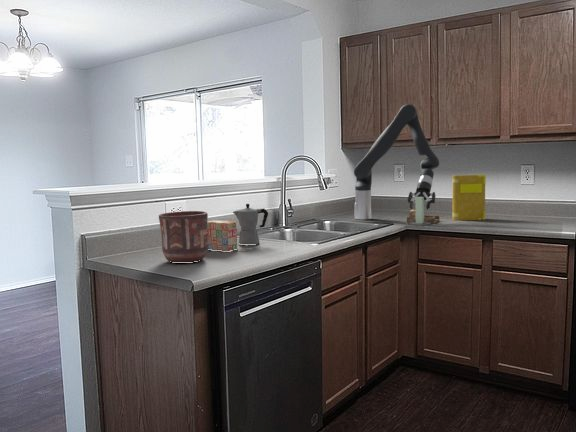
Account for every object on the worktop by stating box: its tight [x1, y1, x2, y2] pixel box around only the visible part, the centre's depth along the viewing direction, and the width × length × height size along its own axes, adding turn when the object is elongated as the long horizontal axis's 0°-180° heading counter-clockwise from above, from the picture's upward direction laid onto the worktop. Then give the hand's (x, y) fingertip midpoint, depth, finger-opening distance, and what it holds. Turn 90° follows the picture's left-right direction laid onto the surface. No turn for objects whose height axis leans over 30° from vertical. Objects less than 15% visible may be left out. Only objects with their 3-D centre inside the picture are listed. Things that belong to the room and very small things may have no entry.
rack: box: [406, 214, 440, 225], centre depth 286 cm, size 15×12×3 cm
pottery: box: [158, 210, 209, 262], centre depth 192 cm, size 18×18×18 cm
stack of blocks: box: [207, 219, 238, 251], centre depth 215 cm, size 21×6×12 cm, turn 58°
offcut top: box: [408, 209, 416, 217], centre depth 288 cm, size 4×8×2 cm, turn 155°
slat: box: [415, 197, 425, 224], centre depth 276 cm, size 4×4×14 cm
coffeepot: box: [232, 203, 269, 244], centre depth 226 cm, size 15×9×18 cm, turn 92°
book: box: [451, 174, 487, 221], centre depth 290 cm, size 17×7×25 cm, turn 84°
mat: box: [408, 222, 432, 226], centre depth 277 cm, size 10×8×1 cm
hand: (419, 208), depth 274 cm, fingers open, 8 cm apart
